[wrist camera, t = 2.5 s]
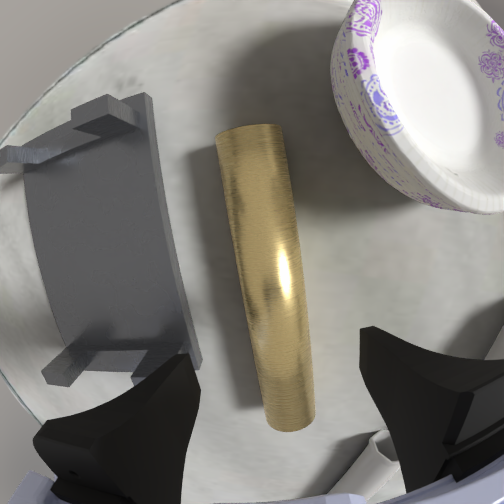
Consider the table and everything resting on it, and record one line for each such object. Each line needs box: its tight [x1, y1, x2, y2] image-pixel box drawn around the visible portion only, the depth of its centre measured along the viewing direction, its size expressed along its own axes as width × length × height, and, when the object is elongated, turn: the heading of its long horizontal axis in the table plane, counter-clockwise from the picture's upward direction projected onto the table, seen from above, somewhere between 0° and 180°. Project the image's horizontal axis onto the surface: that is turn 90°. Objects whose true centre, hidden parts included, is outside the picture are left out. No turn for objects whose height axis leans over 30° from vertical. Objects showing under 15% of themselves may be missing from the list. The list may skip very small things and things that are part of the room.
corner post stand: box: [0, 92, 203, 387], centre depth 17 cm, size 12×20×6 cm, turn 9°
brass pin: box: [215, 124, 315, 432], centre depth 19 cm, size 21×4×4 cm, turn 9°
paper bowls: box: [330, 0, 504, 215], centre depth 13 cm, size 15×15×8 cm
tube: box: [327, 430, 401, 502], centre depth 24 cm, size 5×5×25 cm
